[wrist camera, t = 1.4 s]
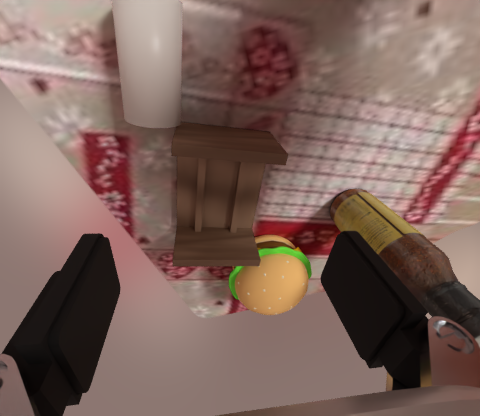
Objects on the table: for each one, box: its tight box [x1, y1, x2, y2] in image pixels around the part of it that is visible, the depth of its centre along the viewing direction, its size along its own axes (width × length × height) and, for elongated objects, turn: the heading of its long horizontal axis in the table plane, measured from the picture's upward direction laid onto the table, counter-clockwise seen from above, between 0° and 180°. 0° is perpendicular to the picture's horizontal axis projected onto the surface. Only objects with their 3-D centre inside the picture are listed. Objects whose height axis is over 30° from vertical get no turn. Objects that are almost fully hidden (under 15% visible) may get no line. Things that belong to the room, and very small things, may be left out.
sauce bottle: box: [330, 189, 480, 347], centre depth 27 cm, size 7×6×20 cm
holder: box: [172, 122, 288, 266], centre depth 27 cm, size 14×10×7 cm
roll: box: [111, 0, 182, 128], centre depth 20 cm, size 9×5×5 cm, turn 172°
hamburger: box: [229, 235, 311, 315], centre depth 35 cm, size 12×12×9 cm
